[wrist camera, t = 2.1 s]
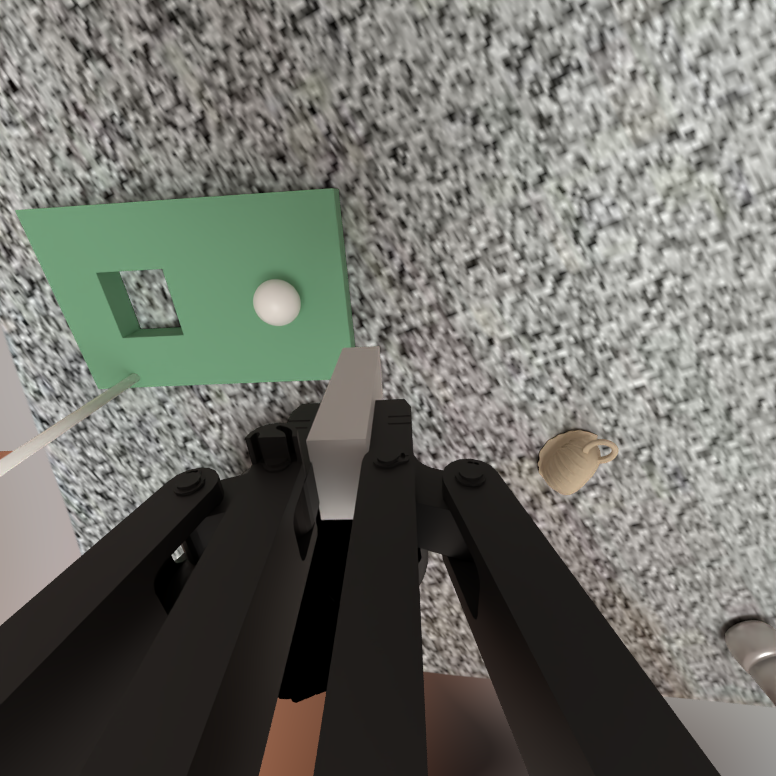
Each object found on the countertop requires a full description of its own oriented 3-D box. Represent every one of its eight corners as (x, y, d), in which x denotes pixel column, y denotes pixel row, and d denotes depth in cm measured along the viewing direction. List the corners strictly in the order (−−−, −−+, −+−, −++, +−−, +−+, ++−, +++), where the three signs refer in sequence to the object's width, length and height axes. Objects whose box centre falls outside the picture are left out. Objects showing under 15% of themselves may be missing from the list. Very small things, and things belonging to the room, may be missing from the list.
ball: (257, 276, 29) (240, 285, 26) (301, 274, 29) (289, 283, 26) (267, 319, 31) (252, 333, 28) (308, 317, 31) (297, 331, 27)
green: (43, 209, 30) (-305, 219, 15) (338, 189, 28) (271, 178, 14) (116, 377, 37) (-75, 496, 22) (357, 367, 35) (325, 487, 21)
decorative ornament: (524, 465, 40) (541, 501, 35) (578, 408, 37) (605, 439, 32) (553, 480, 41) (573, 517, 36) (609, 425, 37) (639, 458, 33)
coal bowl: (247, 531, 46) (159, 722, 29) (243, 391, 37) (111, 551, 20) (406, 552, 47) (408, 749, 30) (439, 420, 38) (470, 597, 21)
